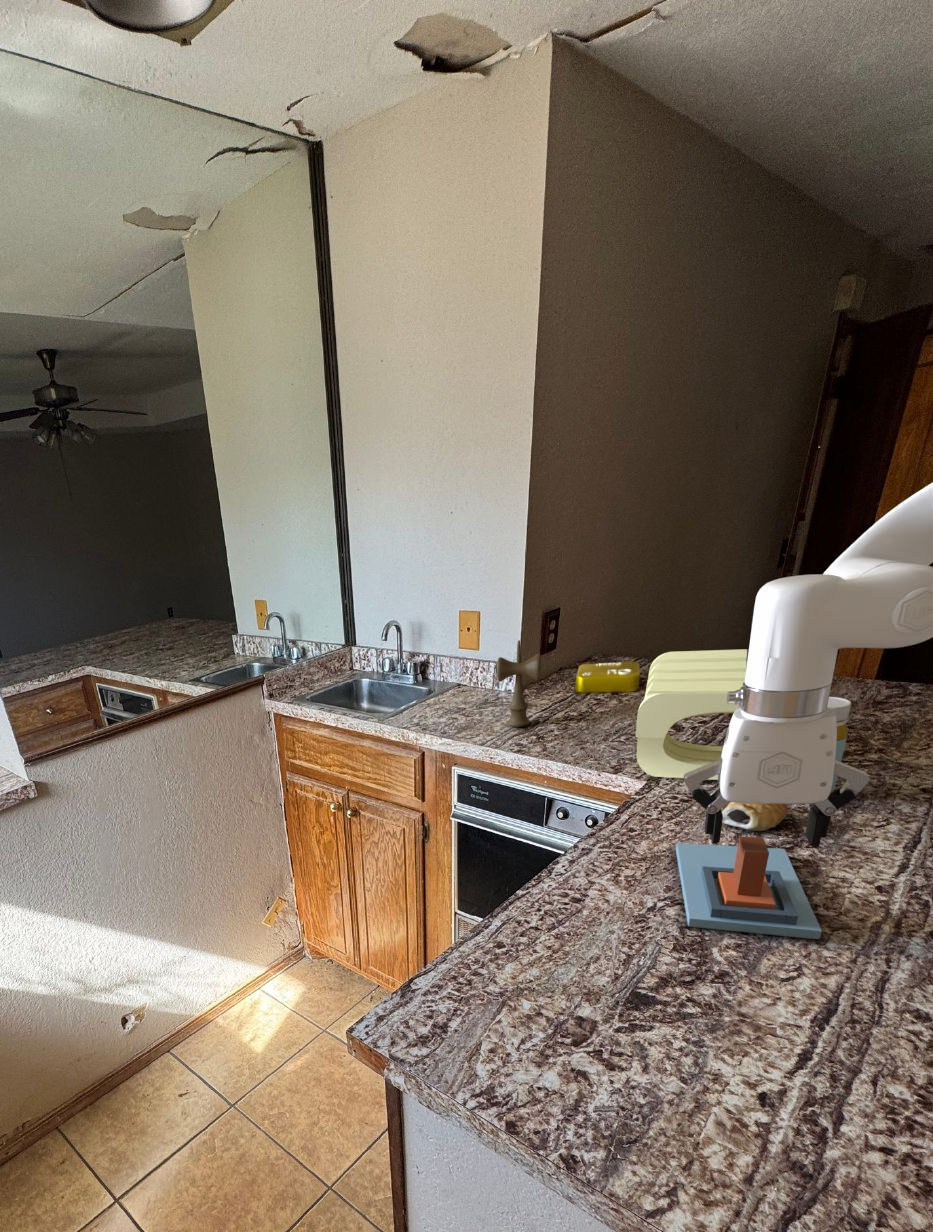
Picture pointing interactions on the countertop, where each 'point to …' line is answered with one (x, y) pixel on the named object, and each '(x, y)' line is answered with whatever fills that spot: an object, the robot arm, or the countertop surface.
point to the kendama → (519, 684)
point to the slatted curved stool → (685, 707)
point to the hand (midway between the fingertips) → (761, 840)
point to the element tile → (608, 677)
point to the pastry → (754, 815)
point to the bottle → (839, 727)
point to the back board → (709, 912)
